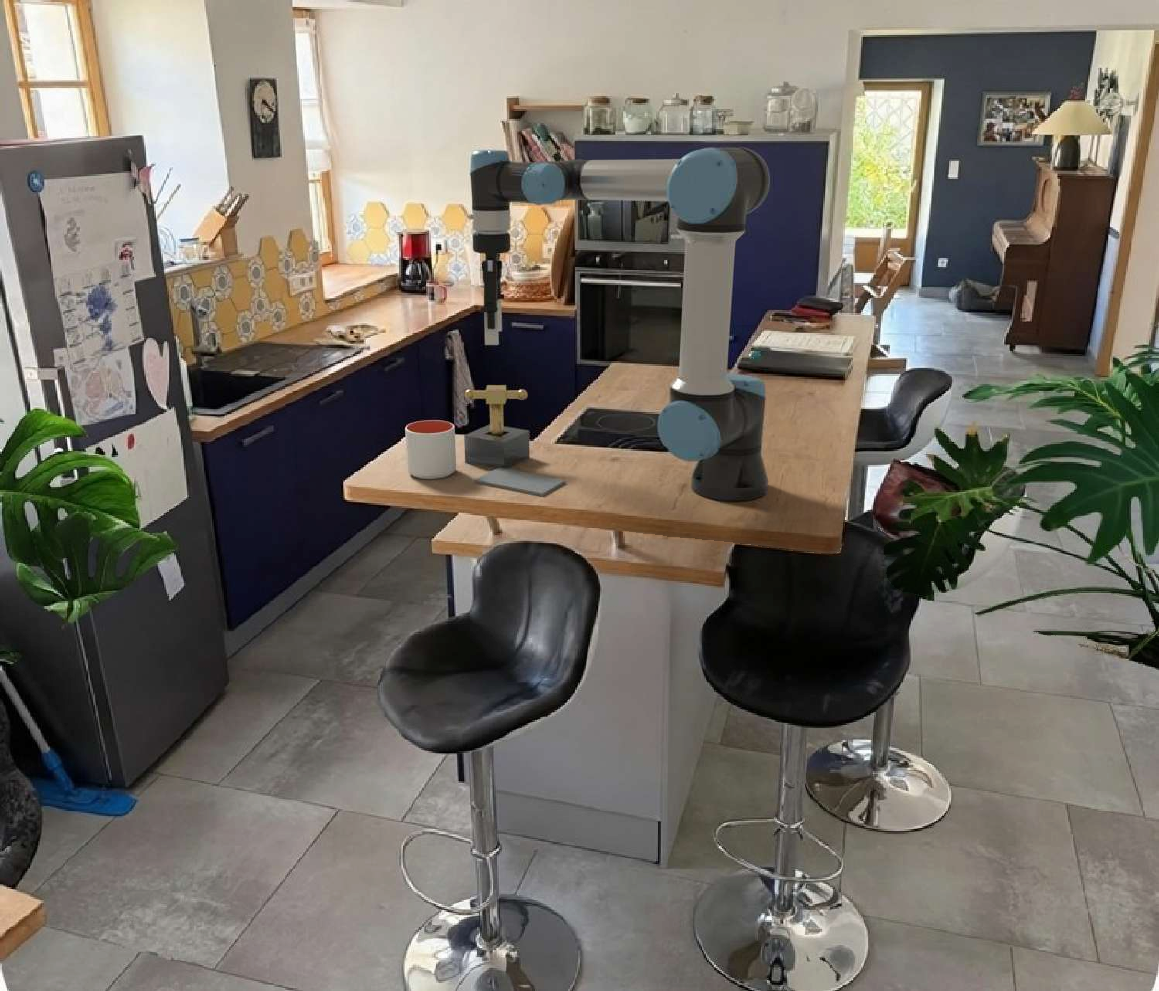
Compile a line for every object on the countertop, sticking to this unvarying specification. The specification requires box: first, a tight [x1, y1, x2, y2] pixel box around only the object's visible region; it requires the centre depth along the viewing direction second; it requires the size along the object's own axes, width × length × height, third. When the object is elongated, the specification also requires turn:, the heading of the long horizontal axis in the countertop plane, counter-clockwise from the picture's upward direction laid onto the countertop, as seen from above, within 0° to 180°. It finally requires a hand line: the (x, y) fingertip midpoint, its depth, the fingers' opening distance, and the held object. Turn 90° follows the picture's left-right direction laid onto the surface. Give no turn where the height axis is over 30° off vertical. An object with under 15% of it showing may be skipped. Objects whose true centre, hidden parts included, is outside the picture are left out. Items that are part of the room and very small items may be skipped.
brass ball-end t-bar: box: [464, 384, 528, 437], centre depth 217 cm, size 13×4×16 cm, turn 91°
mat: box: [474, 467, 566, 497], centre depth 206 cm, size 16×9×1 cm, turn 61°
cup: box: [404, 419, 457, 480], centre depth 210 cm, size 10×10×10 cm
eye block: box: [463, 424, 530, 469], centre depth 219 cm, size 10×10×6 cm
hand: (493, 337), depth 210 cm, fingers open, 13 cm apart
